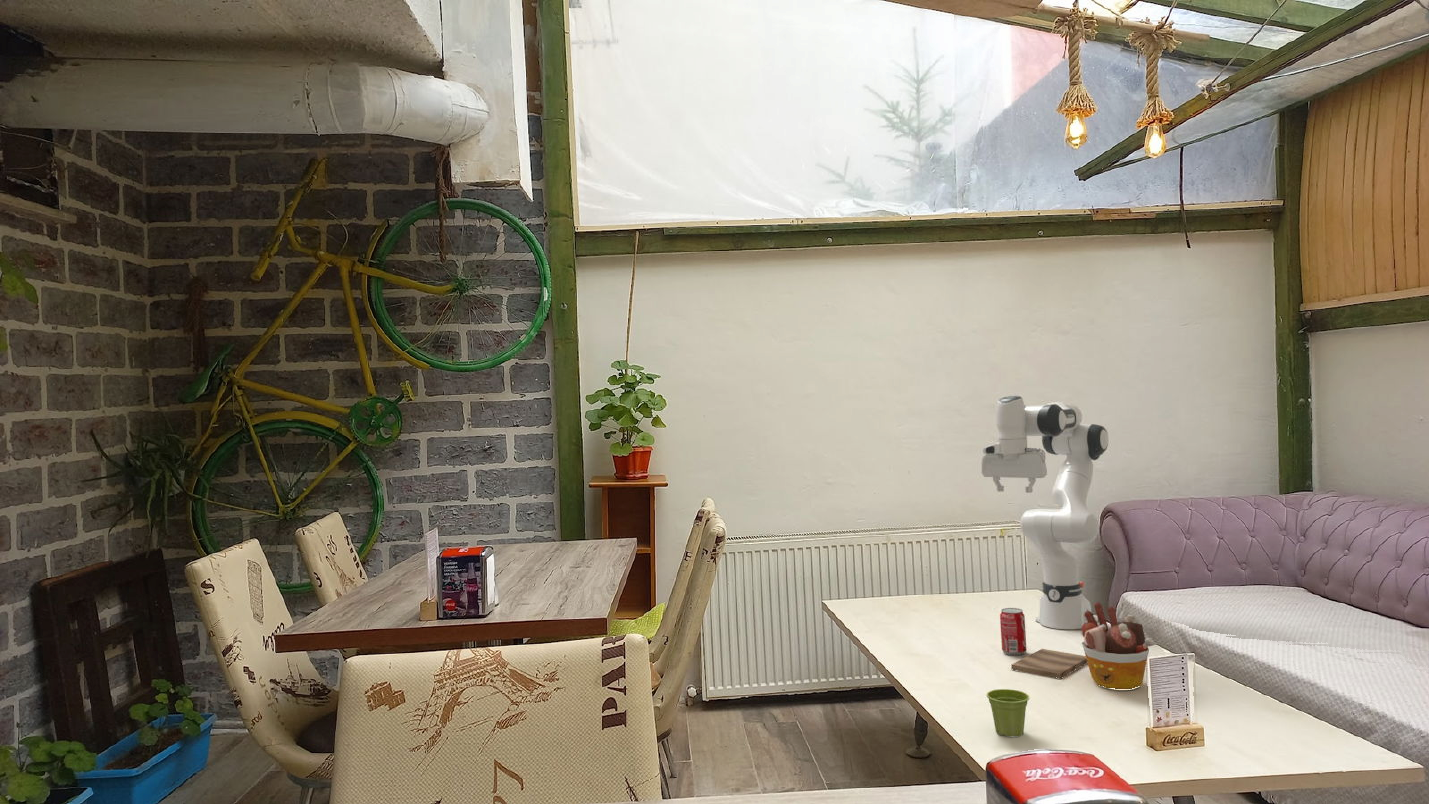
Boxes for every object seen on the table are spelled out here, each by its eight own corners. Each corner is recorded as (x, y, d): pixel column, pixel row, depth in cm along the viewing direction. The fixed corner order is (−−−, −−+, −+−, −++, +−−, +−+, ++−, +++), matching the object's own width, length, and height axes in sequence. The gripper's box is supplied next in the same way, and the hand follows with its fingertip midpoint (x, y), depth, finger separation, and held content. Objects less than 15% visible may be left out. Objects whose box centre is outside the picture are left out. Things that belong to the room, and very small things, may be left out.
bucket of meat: (1166, 695, 220) (1162, 617, 220) (1101, 697, 220) (1097, 619, 220) (1129, 671, 240) (1126, 599, 240) (1070, 673, 240) (1066, 602, 240)
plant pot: (981, 726, 204) (980, 690, 204) (1020, 723, 205) (1018, 687, 205) (998, 741, 195) (996, 703, 195) (1038, 738, 195) (1036, 700, 195)
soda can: (1028, 656, 258) (1026, 612, 258) (1003, 656, 259) (1001, 612, 259) (1024, 649, 265) (1022, 607, 265) (1000, 649, 266) (998, 607, 266)
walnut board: (1042, 653, 260) (1042, 648, 260) (1089, 661, 250) (1089, 656, 250) (1011, 669, 246) (1011, 664, 246) (1060, 679, 236) (1059, 673, 236)
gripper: (1049, 447, 265) (1051, 492, 265) (987, 447, 280) (989, 489, 280) (1040, 448, 261) (1042, 494, 261) (978, 448, 275) (980, 491, 275)
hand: (1014, 492), depth 270 cm, fingers open, 8 cm apart
